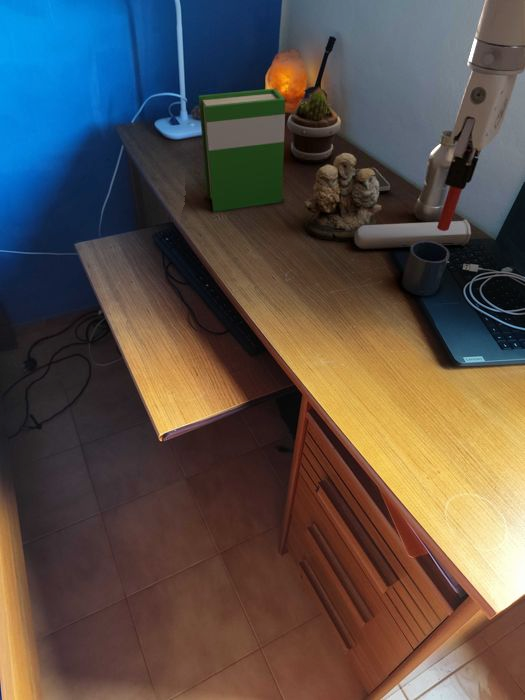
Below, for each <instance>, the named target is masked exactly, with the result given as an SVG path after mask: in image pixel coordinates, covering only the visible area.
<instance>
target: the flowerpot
mask: <svg viewBox="0 0 525 700" xmlns="http://www.w3.org/2000/svg"><path fill="white" fill-rule="evenodd" d="M320 87H321V85H320V86H318V87H316V89H315V88H314V91H313V92H311V94H309V97H307V98H306V99H305V100H304V101H300V103H297V104H298V106H297V107H295V108H294V109H293V110H292V112H291V113H292V114H290V115H289V116H288V118H287V122H286V127H287V128H288V130H289V131H290V132H291V141H292V142H291V144H290V147H291V148H290V151H291V152H292V154H293V156H294V158H295V159H297V160H298V161H300V162H303V163H309V164H310V163H311V164H312V163H314V164H315V163H316V164H317V163H318V164H319V163H323V162H325V161H326V160H328V159H329V157H330V156H331V155H332V151H333V149H334V145H333V142H334V140H335V136H336V134H337V133H338V132H339V130H340V128H341V124H342V121H341V118H340V117H339V116H338V113H336V112H335V111H334V110H333V109H332V108H331V104H329V96H328V95H326V91H325V90H326V89H325V88H324V89H323V88H320Z"/></svg>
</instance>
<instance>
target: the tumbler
mask: <svg viewBox="0 0 525 700" xmlns="http://www.w3.org/2000/svg"><path fill="white" fill-rule="evenodd" d="M409 248H410V249H409V252H408V256H407V260H406V263H405V267H404V270H403V274H402V276H401V286H402V287H403V289H405V290H406V291H407V292H408V293H411V294H412V295H416V296H421V297H427V296H431V295H433V294H436V292H437V291H438V289H439V288H440V284H441V282H442V279H443V276H444V273H445V271H446V267H447V265H448V262H449V259H450V251H449V250H448V248H447V247H446V246H445V245H441V244H438V243H435V242H431V241H419V242H417V243H414V244H413V245H412V246H411V247H409ZM435 289H436V290H435ZM433 290H434V291H433ZM420 291H422V292H420ZM428 291H431V292H428Z"/></svg>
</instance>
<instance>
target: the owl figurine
mask: <svg viewBox="0 0 525 700" xmlns="http://www.w3.org/2000/svg"><path fill="white" fill-rule="evenodd" d="M356 165H357V158H356V157H355V156H354V155H353V154H351V153H347V152H343V153H341V154H339V155H337V156H335V158H334V161H333V163H332V165H331V164H325V165H323V166H322V167H319V169H318V170H317V171H316V173H315V183H314V185H313V189H312V191H313V198H312V197H310V198H307V199H305V201H304V202H303V205H304V207H305V208H306V209H307V211H309V212H310V213H313V214H312V215H310V216H308V218H306V220H305V224H304V225H305V228H306V230H307V231H308V233H310V235H312V236H314V237H315V238H318V239H322V240H329V241H332V240H333V239H334V240H335V241H338V242H342V241H355V240H354V236H355V231H356V230H357V229H358V228H360V227H361V226H363V225H378V223H377V221H376V219H375V218H374V216H375V214H377V213H379V212H381V210H382V205H381V204H377V202H378V198H379V196H380V193H379V182H378V181H377V180H376V176H375V173H374V171H373V170H371V169H366V168H361V169H362V170H360V171H359V172H357V173H356V174H355V170H356V169H355V166H356ZM334 236H335V237H334Z"/></svg>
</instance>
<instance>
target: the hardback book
mask: <svg viewBox="0 0 525 700" xmlns="http://www.w3.org/2000/svg"><path fill="white" fill-rule="evenodd" d="M286 103H287V102H286V98H285V97H284V96H283V95H282V94H281V93H280V92H279V91H278V89H276V88H265V89H256V90H244V91H243V90H242V91H234V92H224V93H214V94H212V93H211V94H203V95H198V105H199V106H198V107H199V117H200V126H201V139H202V151H203V163H204V175H205V185H206V196H207V197H206V198H207V200H211V205H212V211H213V212H221V211H228V210H234V209H242V208H247V207H248V208H249V207H257V206H262V205H270V204H277V203H282V201H283V182H284V181H283V178H284V154H285V153H284V152H285V125H286V124H285V123H286ZM207 194H208V195H207Z"/></svg>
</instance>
